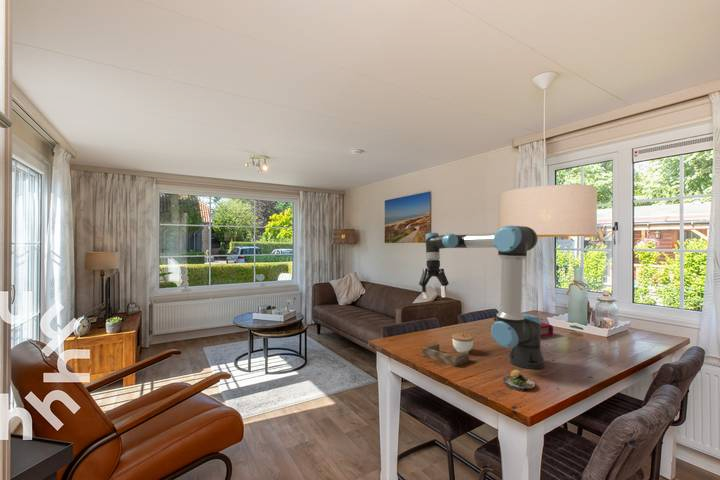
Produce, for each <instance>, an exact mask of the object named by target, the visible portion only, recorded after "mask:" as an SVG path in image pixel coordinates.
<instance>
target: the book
mask: <svg viewBox="0 0 720 480" xmlns="http://www.w3.org/2000/svg"><path fill="white" fill-rule="evenodd" d="M493 321H495V322H496V317H494V318H493ZM540 323H541V338H546V337H551V336H553V334H554V326H553V325H552V324H549V323H544V322H541V321H540Z"/></svg>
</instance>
